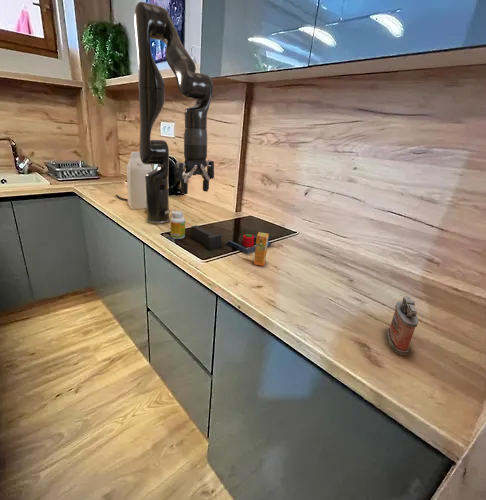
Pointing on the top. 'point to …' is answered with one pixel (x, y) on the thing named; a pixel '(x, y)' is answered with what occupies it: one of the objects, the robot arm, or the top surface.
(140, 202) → the milk
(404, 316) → the lighter
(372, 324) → the top surface
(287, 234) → the top surface
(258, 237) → the supplement box
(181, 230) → the supplement bottle
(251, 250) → the frame
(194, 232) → the matte black brick
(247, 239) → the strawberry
